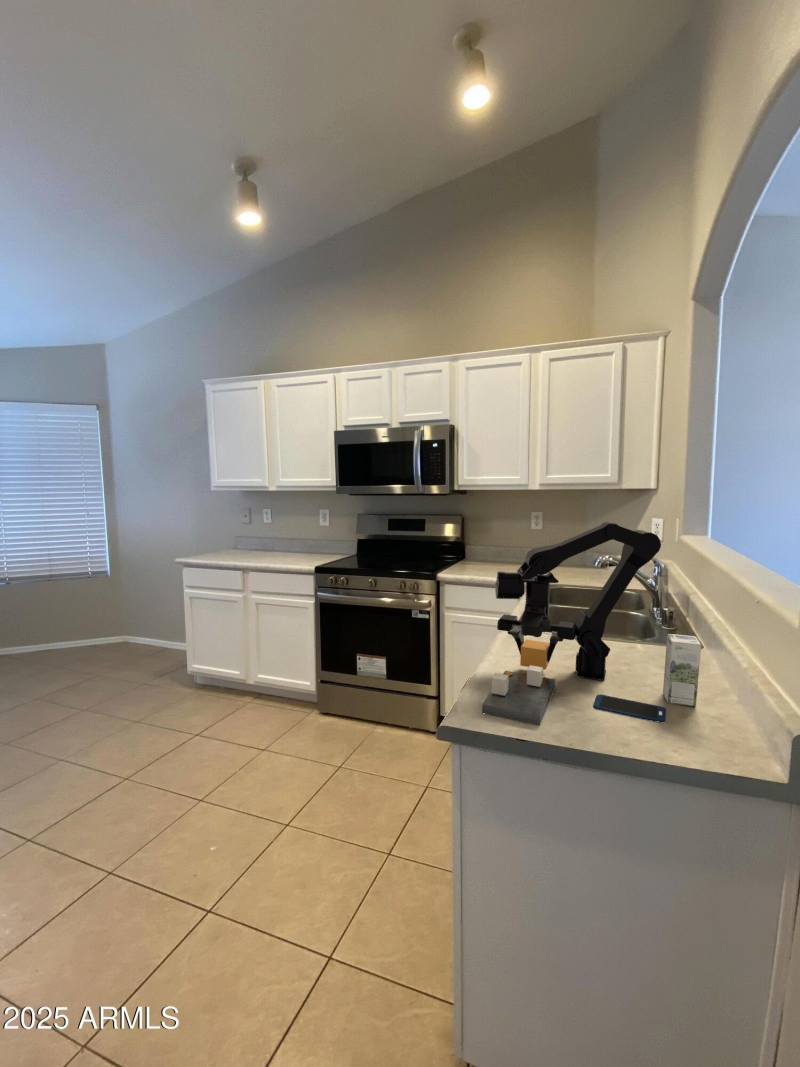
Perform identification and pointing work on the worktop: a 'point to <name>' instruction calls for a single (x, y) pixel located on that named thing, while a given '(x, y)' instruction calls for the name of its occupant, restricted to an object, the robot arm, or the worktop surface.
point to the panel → (521, 700)
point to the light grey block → (534, 675)
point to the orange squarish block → (534, 653)
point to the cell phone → (630, 708)
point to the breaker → (500, 684)
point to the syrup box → (681, 669)
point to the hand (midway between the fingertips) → (535, 659)
